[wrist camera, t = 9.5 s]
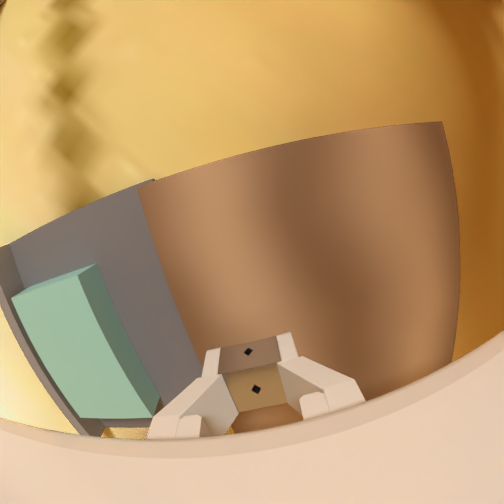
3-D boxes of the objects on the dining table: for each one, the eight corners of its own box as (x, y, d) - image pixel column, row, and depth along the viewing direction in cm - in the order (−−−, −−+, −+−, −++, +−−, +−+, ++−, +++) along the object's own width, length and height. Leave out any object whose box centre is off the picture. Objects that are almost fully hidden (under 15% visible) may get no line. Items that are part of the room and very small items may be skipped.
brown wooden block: (396, 132, 12) (441, 121, 8) (416, 352, 16) (446, 385, 12) (166, 185, 13) (136, 187, 9) (245, 407, 16) (247, 454, 12)
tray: (154, 178, 12) (136, 178, 10) (240, 413, 16) (240, 439, 14) (5, 246, 13) (-18, 256, 10) (97, 423, 16) (87, 443, 14)
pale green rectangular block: (11, 298, 11) (29, 286, 13) (80, 417, 13) (90, 399, 15) (77, 275, 11) (96, 263, 13) (153, 417, 13) (160, 395, 15)
